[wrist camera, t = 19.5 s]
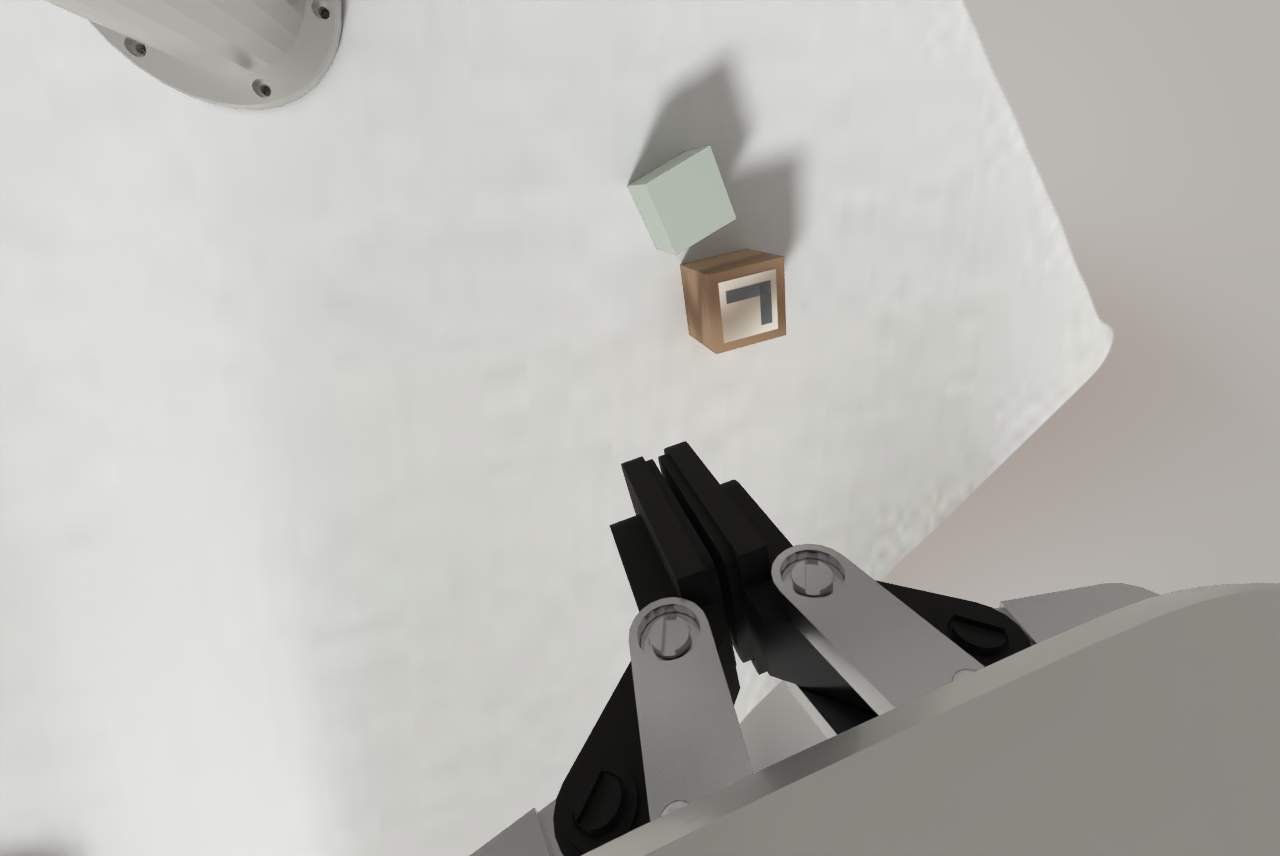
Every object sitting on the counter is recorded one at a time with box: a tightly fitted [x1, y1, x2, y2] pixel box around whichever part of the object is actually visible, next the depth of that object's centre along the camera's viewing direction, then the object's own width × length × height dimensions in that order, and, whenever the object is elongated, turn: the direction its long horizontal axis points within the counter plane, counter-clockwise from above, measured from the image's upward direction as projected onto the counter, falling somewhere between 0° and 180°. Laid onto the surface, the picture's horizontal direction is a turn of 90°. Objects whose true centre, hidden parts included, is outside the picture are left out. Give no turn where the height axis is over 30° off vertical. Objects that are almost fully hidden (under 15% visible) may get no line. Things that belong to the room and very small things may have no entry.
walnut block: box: [680, 249, 786, 354], centre depth 38 cm, size 6×6×6 cm
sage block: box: [627, 145, 736, 255], centre depth 34 cm, size 5×5×5 cm
